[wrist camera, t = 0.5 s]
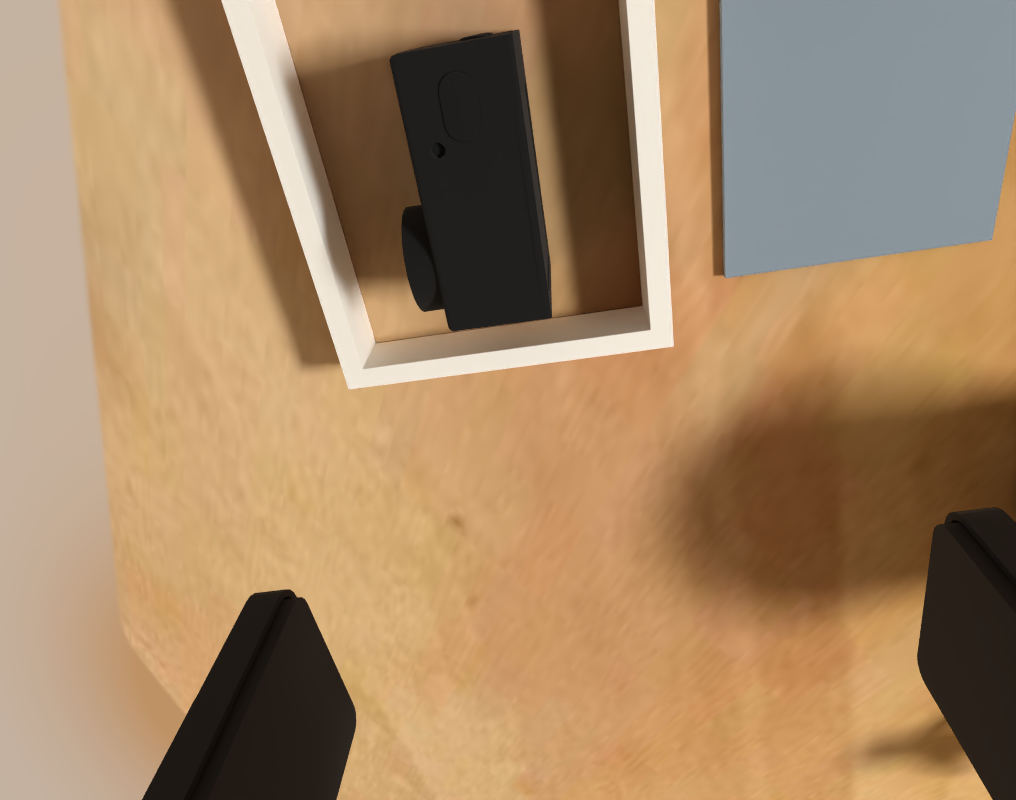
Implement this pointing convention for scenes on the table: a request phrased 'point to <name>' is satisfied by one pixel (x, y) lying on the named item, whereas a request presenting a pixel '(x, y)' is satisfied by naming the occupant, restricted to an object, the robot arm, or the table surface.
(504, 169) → the digital camera
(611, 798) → the table surface
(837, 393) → the table surface
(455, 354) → the open frame
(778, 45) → the rubber mat
